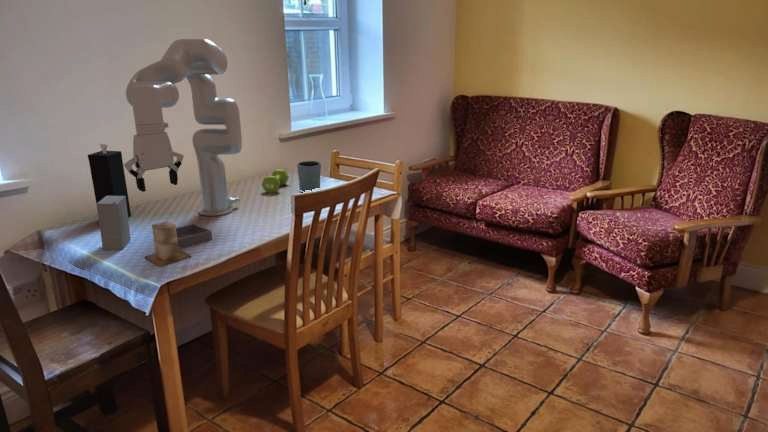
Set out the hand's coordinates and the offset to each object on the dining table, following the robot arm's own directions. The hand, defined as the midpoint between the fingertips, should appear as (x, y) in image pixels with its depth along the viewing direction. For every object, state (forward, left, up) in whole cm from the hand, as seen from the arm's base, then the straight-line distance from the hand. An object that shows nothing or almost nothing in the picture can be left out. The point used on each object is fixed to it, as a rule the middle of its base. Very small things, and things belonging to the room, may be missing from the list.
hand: (158, 187), depth 167 cm
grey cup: (-78, -27, -22) cm, 85 cm away
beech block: (0, 0, -22) cm, 22 cm away
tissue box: (-5, -51, -22) cm, 56 cm away
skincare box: (+6, -22, -22) cm, 32 cm away
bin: (-12, -10, -22) cm, 27 cm away
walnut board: (0, 0, -22) cm, 22 cm away
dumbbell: (-70, -41, -22) cm, 85 cm away
